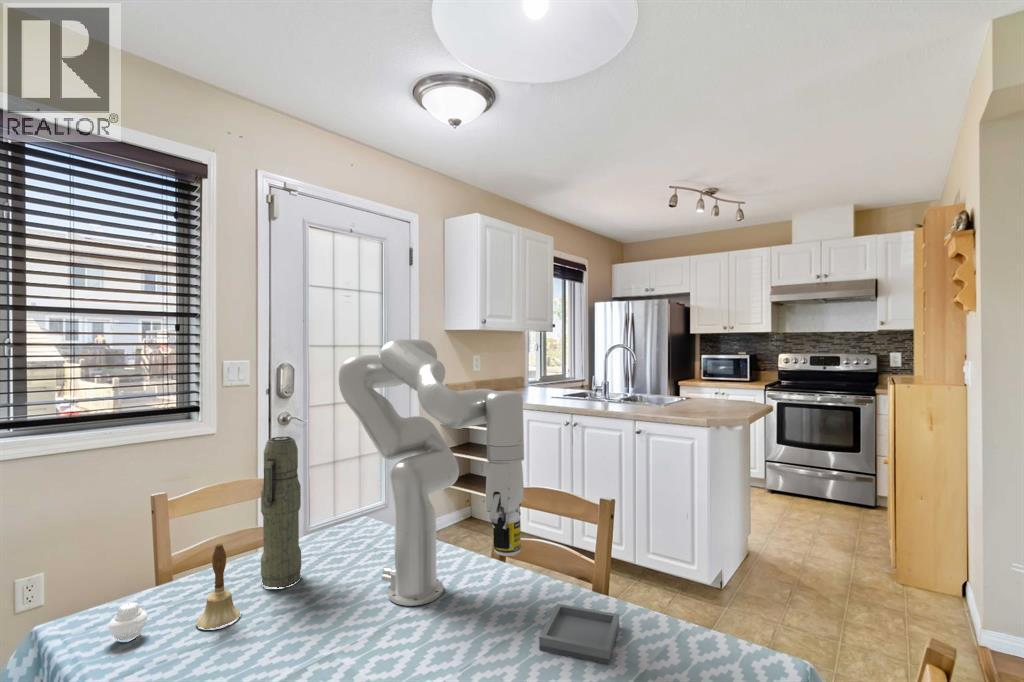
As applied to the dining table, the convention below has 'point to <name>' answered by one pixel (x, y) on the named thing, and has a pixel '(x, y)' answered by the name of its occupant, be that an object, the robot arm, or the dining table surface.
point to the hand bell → (218, 596)
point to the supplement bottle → (512, 534)
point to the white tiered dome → (128, 621)
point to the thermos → (280, 513)
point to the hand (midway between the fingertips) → (507, 541)
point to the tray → (580, 633)
